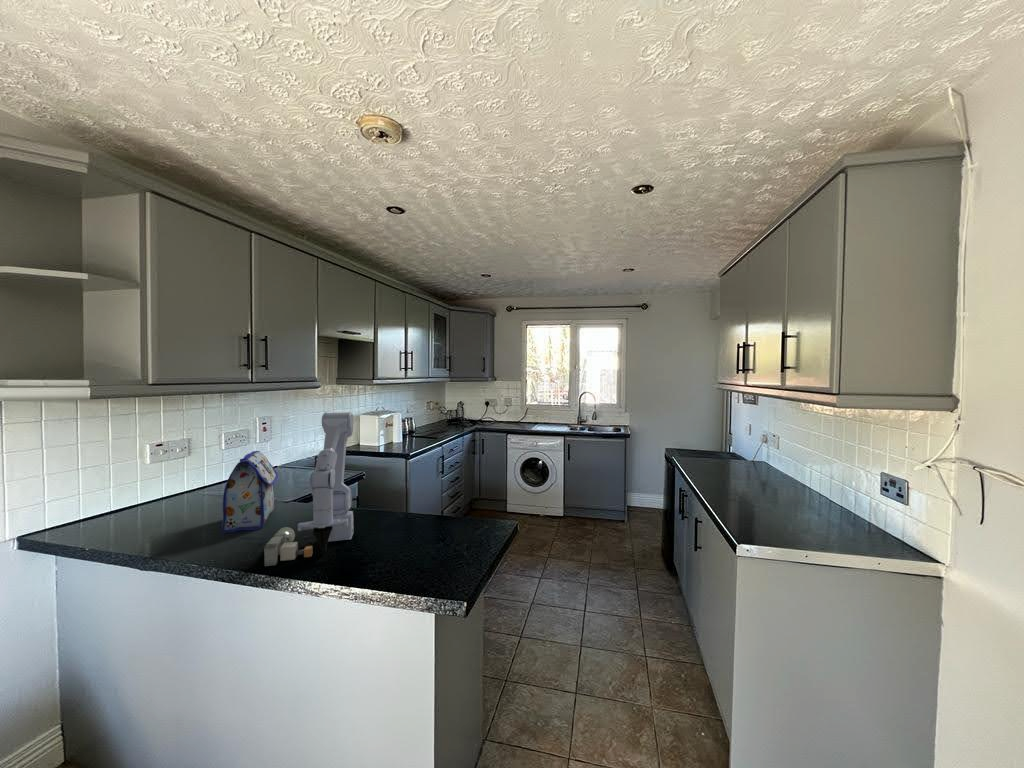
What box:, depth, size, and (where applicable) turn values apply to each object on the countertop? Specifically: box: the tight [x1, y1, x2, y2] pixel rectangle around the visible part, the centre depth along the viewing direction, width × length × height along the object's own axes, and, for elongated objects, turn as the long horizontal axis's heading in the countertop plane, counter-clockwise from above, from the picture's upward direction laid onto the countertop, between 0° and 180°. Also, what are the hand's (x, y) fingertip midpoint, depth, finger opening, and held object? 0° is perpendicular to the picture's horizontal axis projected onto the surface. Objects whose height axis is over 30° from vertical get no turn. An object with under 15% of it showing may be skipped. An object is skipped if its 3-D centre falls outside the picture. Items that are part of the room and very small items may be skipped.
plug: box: [279, 541, 314, 562], centre depth 132 cm, size 8×4×4 cm, turn 104°
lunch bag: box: [220, 450, 278, 534], centre depth 166 cm, size 23×17×27 cm
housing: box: [263, 526, 296, 567], centre depth 134 cm, size 6×17×6 cm, turn 14°
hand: (323, 550), depth 134 cm, fingers closed
